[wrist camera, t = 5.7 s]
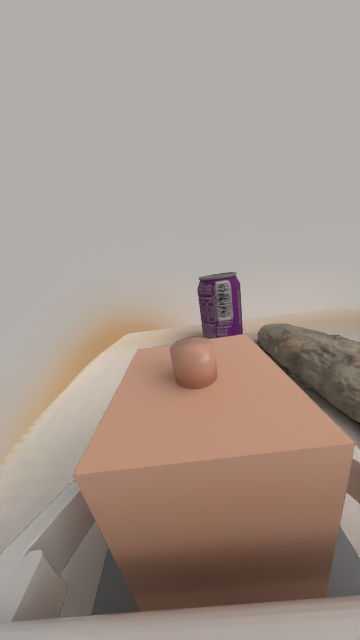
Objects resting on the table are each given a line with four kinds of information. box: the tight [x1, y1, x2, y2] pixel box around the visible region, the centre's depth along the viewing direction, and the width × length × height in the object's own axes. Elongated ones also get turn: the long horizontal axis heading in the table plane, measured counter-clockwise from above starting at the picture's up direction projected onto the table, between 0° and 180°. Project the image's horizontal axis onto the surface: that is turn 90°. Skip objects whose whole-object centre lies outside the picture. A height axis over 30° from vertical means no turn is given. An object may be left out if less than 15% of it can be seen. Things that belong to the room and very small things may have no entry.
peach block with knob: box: [73, 334, 355, 612], centre depth 8 cm, size 6×6×11 cm
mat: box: [92, 526, 360, 615], centre depth 9 cm, size 12×12×1 cm
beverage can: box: [198, 272, 243, 339], centre depth 30 cm, size 7×7×12 cm
